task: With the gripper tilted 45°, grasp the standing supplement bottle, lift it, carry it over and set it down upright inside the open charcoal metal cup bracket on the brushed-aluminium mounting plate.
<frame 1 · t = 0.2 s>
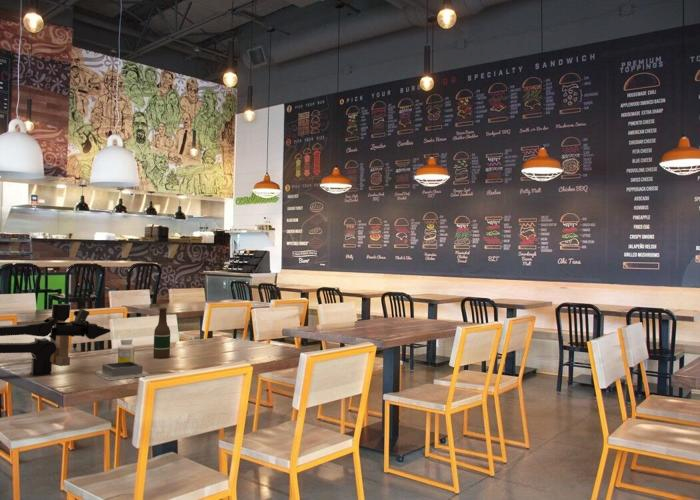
hand: (106, 329, 255), 17 cm above the table, tool horizontal, fingers open, 9 cm apart
wooden block: (59, 364, 262), on the table
supplement bottle: (125, 369, 255), on the table
beer bottle: (161, 357, 286), on the table
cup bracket: (122, 375, 241), on the table
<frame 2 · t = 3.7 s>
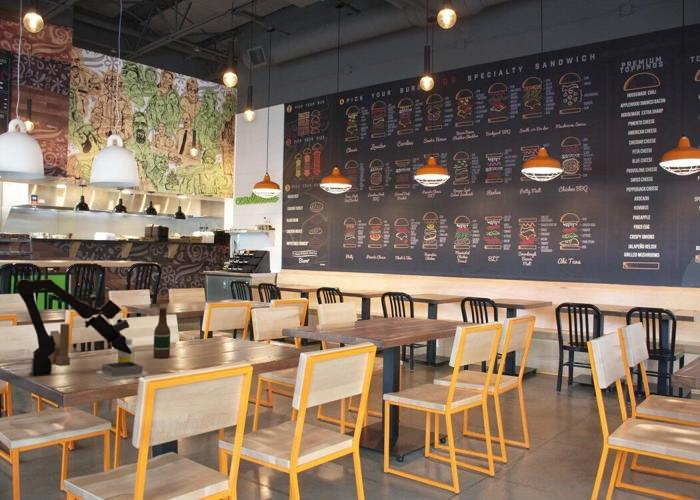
hand: (129, 352, 256), 7 cm above the table, tool tilted 45°, fingers closed on supplement bottle, 7 cm apart
supplement bottle: (125, 369, 255), on the table, touching gripper
everything else where it was.
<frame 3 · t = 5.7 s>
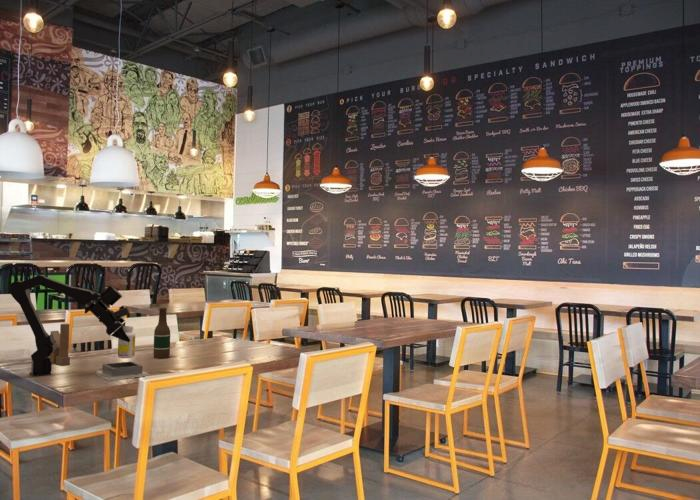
hand: (130, 340, 249), 13 cm above the table, tool tilted 45°, fingers closed on supplement bottle, 7 cm apart
supplement bottle: (126, 357, 248), point 6 cm above the table, touching gripper
everything else where it was.
when the fingers open (9 cm above the table, at t = 7.8 s): supplement bottle stays where it is, resting on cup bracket.
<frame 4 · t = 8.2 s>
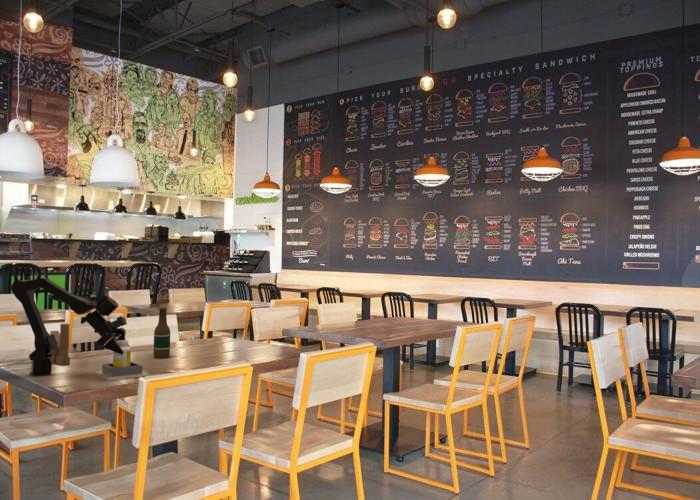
hand: (126, 351, 242), 10 cm above the table, tool tilted 45°, fingers open, 9 cm apart
supplement bottle: (121, 372, 241), point 1 cm above the table, touching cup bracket
everything else where it was.
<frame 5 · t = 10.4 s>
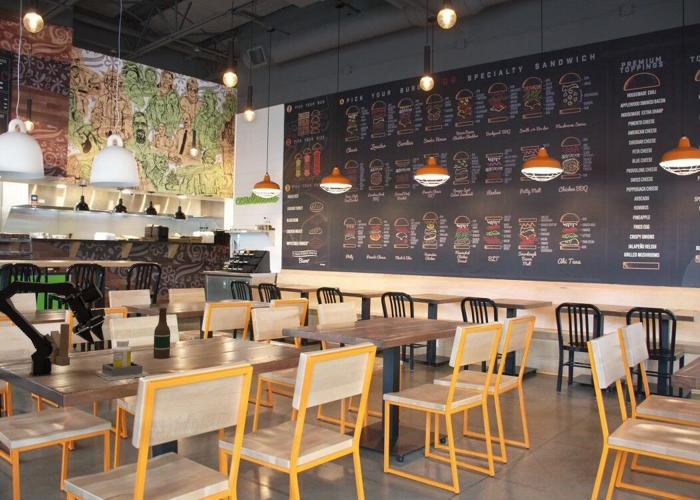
hand: (98, 342, 245), 12 cm above the table, tool tilted 30°, fingers open, 9 cm apart
nothing on the table moved.
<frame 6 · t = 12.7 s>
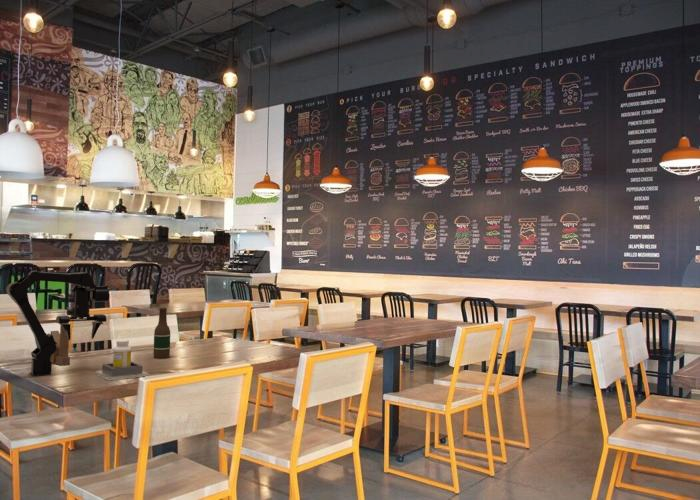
hand: (80, 339, 249), 13 cm above the table, tool pointing down, fingers open, 9 cm apart
nothing on the table moved.
at the end: supplement bottle 0.2 cm off-centre on the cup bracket, point 1.0 cm above the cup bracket's base; supplement bottle tilted 0°; the gripper is holding nothing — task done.
